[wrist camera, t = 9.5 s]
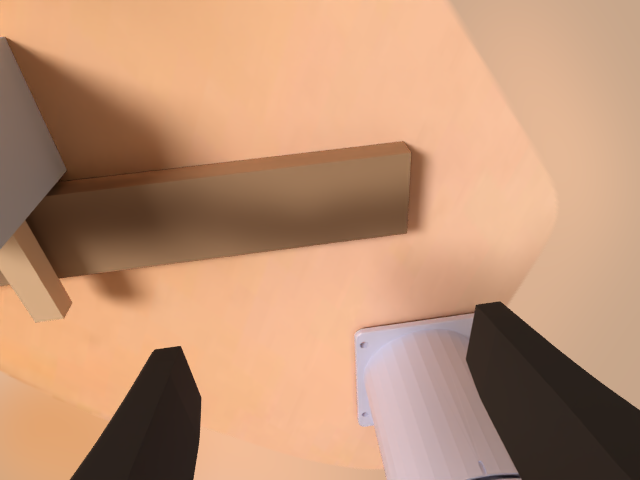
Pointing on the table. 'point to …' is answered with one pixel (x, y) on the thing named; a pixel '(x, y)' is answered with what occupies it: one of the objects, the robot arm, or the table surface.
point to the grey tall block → (26, 193)
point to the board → (223, 209)
